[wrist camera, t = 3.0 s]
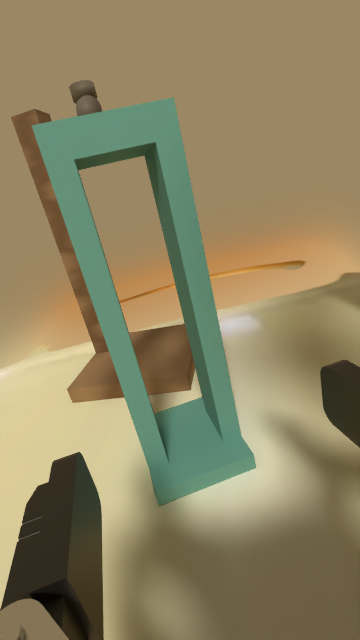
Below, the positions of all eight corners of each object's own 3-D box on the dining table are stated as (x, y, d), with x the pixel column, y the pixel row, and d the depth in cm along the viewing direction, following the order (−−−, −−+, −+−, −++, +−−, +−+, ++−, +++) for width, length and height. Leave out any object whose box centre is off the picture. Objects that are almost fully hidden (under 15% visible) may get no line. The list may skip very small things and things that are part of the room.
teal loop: (215, 403, 26) (153, 128, 19) (256, 467, 19) (183, 81, 12) (142, 429, 25) (48, 149, 18) (159, 505, 18) (22, 112, 11)
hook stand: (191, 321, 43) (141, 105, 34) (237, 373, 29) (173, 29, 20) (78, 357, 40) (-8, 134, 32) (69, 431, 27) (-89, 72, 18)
